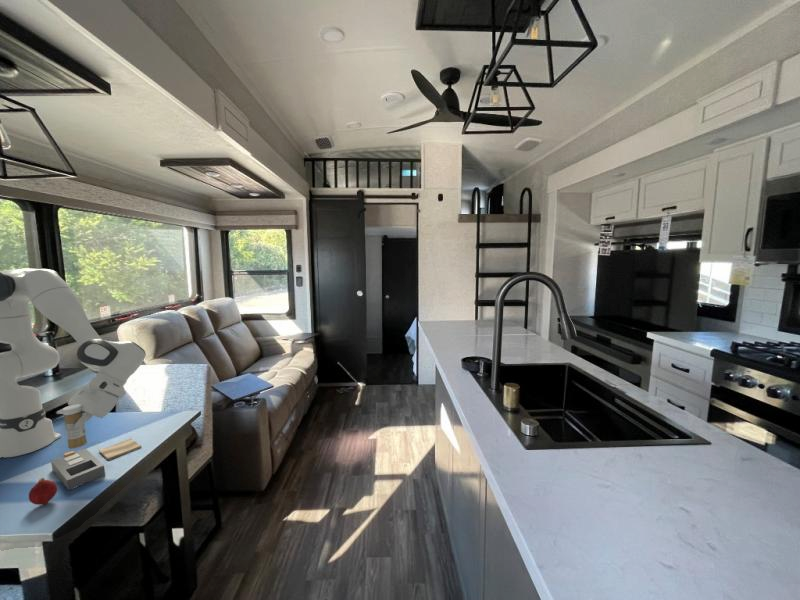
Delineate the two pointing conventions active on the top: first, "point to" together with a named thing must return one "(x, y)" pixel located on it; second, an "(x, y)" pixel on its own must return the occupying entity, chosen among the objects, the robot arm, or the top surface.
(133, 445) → the wooden mat
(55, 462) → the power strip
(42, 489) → the onion
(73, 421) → the sprinkles bottle
